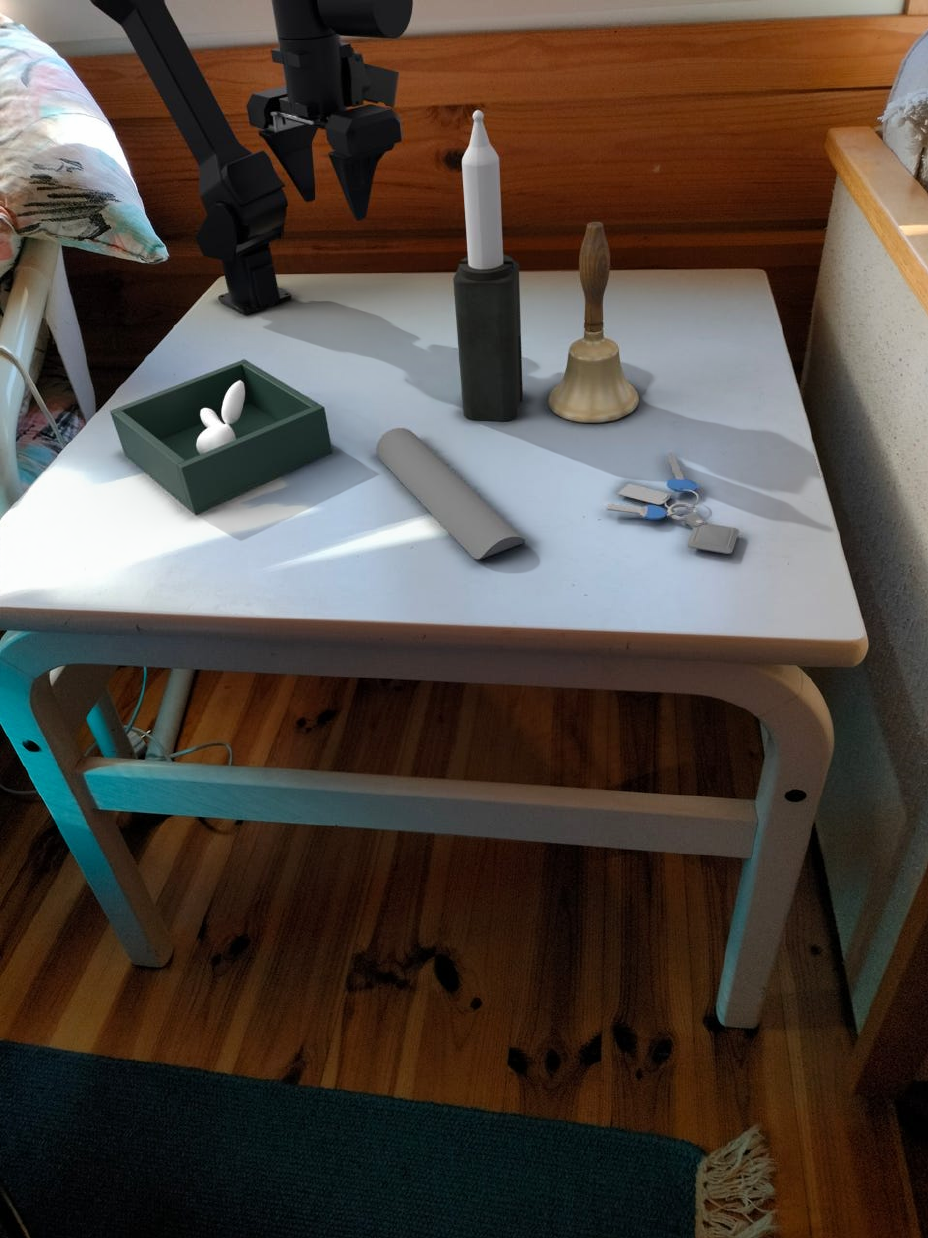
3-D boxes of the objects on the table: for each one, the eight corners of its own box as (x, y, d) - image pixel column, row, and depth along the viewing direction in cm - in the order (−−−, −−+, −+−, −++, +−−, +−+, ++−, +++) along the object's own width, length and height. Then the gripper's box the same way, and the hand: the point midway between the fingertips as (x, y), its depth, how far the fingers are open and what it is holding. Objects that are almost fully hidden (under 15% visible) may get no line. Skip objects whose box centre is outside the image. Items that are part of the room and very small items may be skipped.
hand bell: (533, 414, 88) (529, 236, 77) (569, 374, 93) (570, 203, 83) (619, 430, 84) (627, 247, 74) (651, 389, 90) (663, 212, 80)
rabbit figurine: (177, 476, 83) (188, 398, 86) (215, 493, 85) (224, 418, 88) (219, 451, 79) (229, 371, 82) (257, 471, 82) (265, 392, 85)
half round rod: (481, 567, 71) (479, 548, 70) (373, 453, 84) (370, 435, 83) (530, 548, 72) (530, 529, 71) (416, 439, 86) (414, 421, 84)
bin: (124, 455, 87) (109, 410, 84) (254, 402, 93) (244, 358, 90) (195, 515, 79) (181, 467, 76) (332, 452, 85) (324, 406, 82)
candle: (516, 421, 87) (505, 118, 71) (461, 419, 88) (437, 119, 72) (524, 394, 91) (516, 100, 74) (471, 393, 92) (452, 102, 75)
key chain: (753, 552, 70) (754, 543, 69) (647, 576, 69) (648, 566, 68) (672, 458, 80) (673, 449, 80) (579, 477, 79) (579, 468, 78)
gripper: (440, 27, 86) (453, 208, 96) (325, 11, 97) (347, 174, 108) (338, 50, 81) (363, 238, 91) (229, 30, 92) (262, 199, 102)
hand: (334, 209), depth 98 cm, fingers open, 9 cm apart
